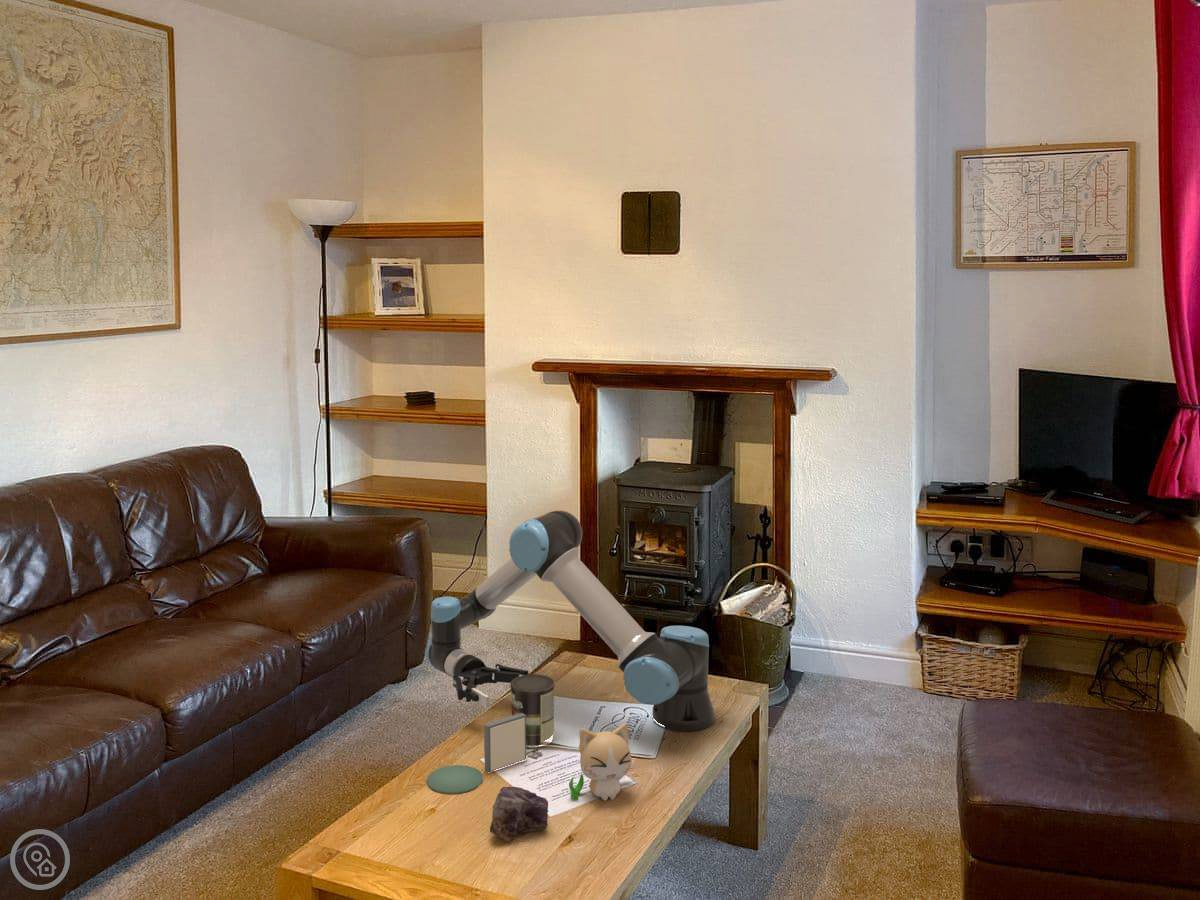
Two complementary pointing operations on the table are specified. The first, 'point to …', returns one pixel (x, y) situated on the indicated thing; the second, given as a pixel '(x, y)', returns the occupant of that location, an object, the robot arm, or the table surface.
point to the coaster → (454, 779)
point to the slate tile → (505, 742)
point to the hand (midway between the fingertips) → (511, 695)
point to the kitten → (603, 761)
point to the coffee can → (534, 706)
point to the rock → (518, 813)
